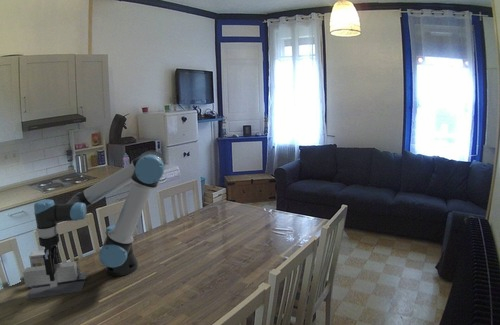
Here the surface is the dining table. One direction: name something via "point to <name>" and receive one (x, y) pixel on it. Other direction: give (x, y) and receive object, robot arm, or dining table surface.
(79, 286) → the mat
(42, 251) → the ink box
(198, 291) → the dining table surface
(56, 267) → the rail
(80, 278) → the stand
